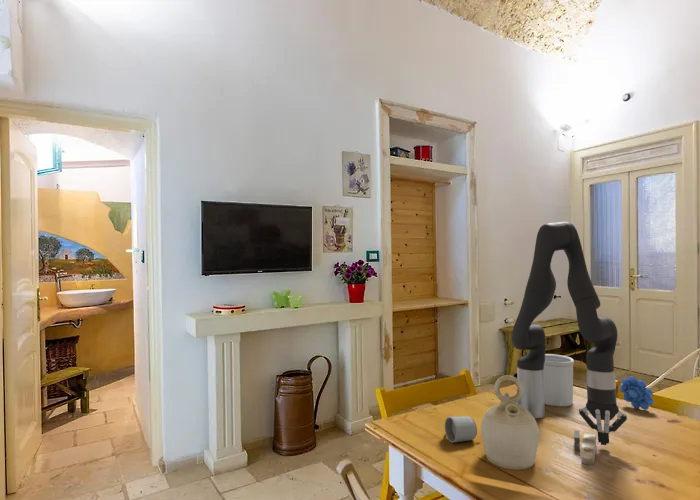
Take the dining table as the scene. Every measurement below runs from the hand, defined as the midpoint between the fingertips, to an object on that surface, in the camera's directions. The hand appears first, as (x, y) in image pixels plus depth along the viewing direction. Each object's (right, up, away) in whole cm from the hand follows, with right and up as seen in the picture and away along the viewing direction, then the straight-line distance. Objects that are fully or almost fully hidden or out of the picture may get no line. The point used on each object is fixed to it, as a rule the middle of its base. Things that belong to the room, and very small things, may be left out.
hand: (603, 444), depth 129 cm
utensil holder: (+8, -4, +47) cm, 48 cm away
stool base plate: (-1, -3, -6) cm, 7 cm away
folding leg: (-6, -1, -3) cm, 7 cm away
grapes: (+34, -3, +37) cm, 50 cm away
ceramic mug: (-40, -4, +12) cm, 42 cm away
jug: (-30, -3, -5) cm, 30 cm away
